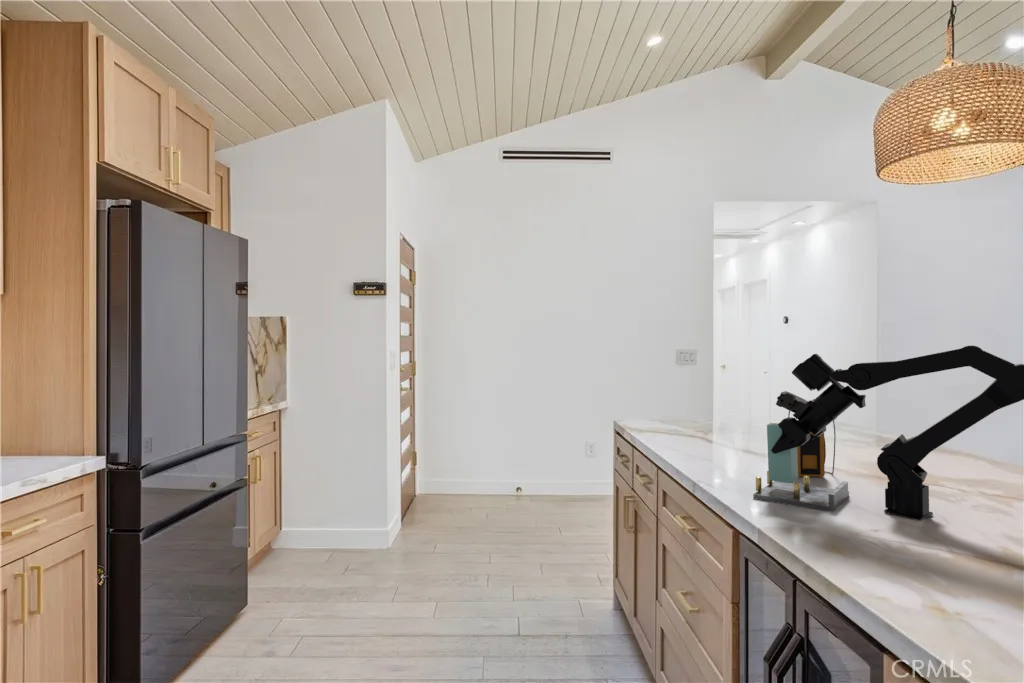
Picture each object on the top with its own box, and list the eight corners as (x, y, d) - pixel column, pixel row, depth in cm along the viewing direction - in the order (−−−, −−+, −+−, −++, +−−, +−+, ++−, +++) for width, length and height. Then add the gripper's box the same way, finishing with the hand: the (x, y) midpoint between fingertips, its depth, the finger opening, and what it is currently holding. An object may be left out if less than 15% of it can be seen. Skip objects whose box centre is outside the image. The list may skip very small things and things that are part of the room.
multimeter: (822, 469, 154) (821, 397, 154) (839, 477, 144) (838, 401, 144) (767, 468, 155) (766, 397, 155) (781, 477, 145) (780, 401, 145)
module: (798, 478, 129) (796, 421, 129) (791, 483, 125) (789, 424, 125) (775, 475, 133) (773, 420, 133) (768, 480, 129) (766, 423, 129)
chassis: (849, 495, 127) (848, 478, 127) (832, 512, 115) (832, 492, 115) (772, 484, 138) (772, 468, 138) (750, 497, 126) (750, 480, 126)
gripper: (810, 377, 134) (763, 420, 141) (787, 382, 120) (736, 429, 127) (848, 412, 128) (797, 454, 135) (829, 421, 114) (773, 467, 122)
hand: (776, 450), depth 130 cm, fingers closed on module, 5 cm apart
